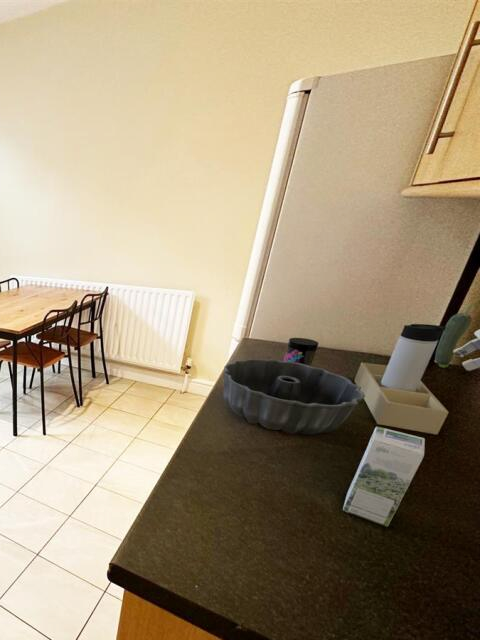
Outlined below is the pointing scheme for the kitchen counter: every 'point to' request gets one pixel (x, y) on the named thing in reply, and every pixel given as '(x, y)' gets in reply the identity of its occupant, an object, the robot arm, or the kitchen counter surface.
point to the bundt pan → (289, 395)
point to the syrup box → (384, 475)
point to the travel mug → (411, 356)
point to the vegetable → (453, 335)
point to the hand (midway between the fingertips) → (459, 360)
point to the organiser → (400, 402)
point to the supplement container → (300, 351)
